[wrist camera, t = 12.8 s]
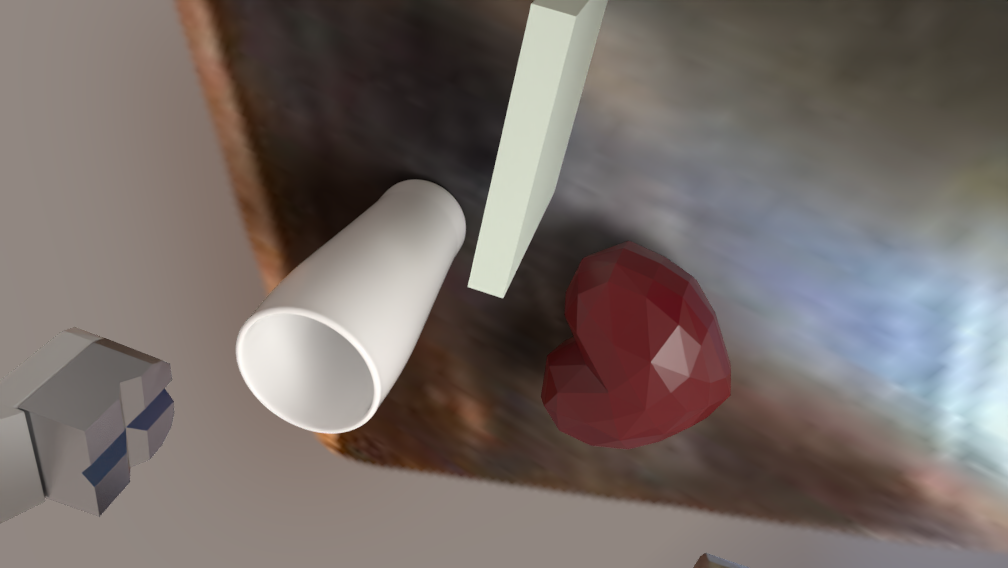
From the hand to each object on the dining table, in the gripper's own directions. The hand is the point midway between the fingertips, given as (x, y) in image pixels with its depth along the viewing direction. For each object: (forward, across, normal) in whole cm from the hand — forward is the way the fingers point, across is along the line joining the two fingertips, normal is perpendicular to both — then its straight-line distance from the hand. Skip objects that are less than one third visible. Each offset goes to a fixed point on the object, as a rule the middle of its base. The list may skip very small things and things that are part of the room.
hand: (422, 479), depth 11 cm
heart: (+30, -6, +17) cm, 35 cm away
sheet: (+30, +2, +5) cm, 30 cm away
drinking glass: (+30, +8, +15) cm, 34 cm away
